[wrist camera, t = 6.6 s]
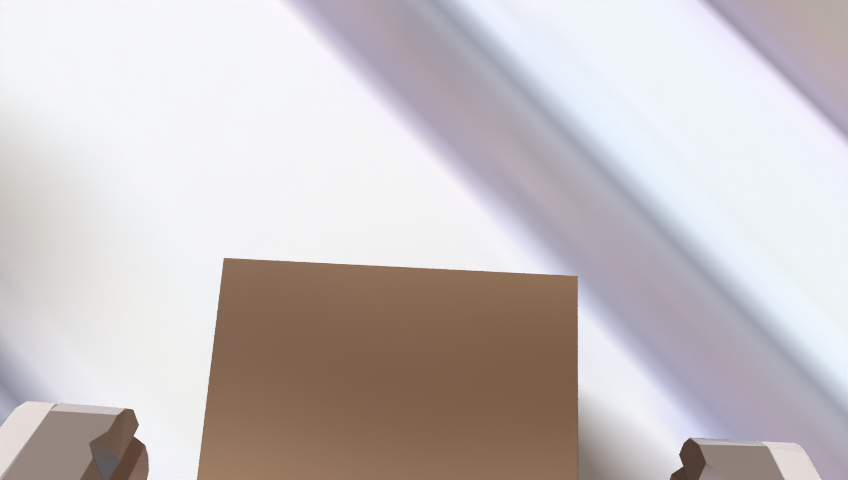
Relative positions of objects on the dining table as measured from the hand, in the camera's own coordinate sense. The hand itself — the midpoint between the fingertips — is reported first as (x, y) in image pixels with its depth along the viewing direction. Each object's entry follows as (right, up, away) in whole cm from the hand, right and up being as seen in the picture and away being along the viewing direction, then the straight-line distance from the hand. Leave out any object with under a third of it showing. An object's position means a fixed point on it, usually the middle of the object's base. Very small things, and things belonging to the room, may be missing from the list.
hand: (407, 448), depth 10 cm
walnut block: (0, -1, +8) cm, 8 cm away
